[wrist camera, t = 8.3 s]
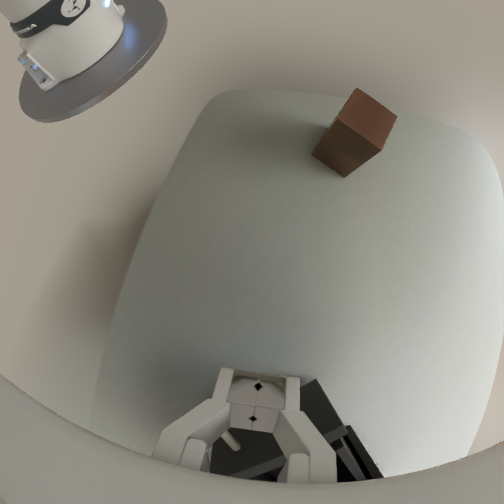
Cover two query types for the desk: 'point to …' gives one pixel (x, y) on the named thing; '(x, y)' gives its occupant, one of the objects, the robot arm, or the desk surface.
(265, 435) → the drawer
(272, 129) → the desk surface
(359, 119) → the walnut block
